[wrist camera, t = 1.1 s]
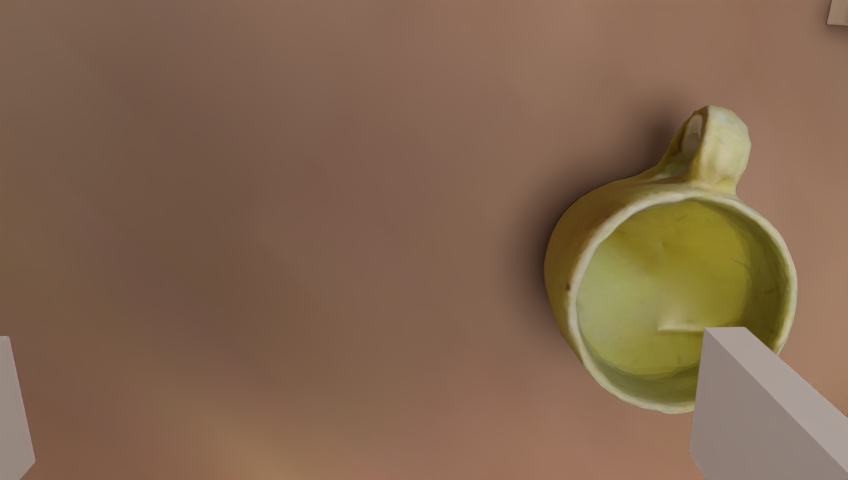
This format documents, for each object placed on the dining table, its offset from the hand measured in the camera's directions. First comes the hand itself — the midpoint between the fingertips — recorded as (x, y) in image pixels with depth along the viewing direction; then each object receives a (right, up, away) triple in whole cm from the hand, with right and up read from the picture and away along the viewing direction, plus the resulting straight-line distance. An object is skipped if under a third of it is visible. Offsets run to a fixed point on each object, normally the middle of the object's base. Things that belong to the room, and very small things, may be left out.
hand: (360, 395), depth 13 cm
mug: (+12, +4, +20) cm, 24 cm away
